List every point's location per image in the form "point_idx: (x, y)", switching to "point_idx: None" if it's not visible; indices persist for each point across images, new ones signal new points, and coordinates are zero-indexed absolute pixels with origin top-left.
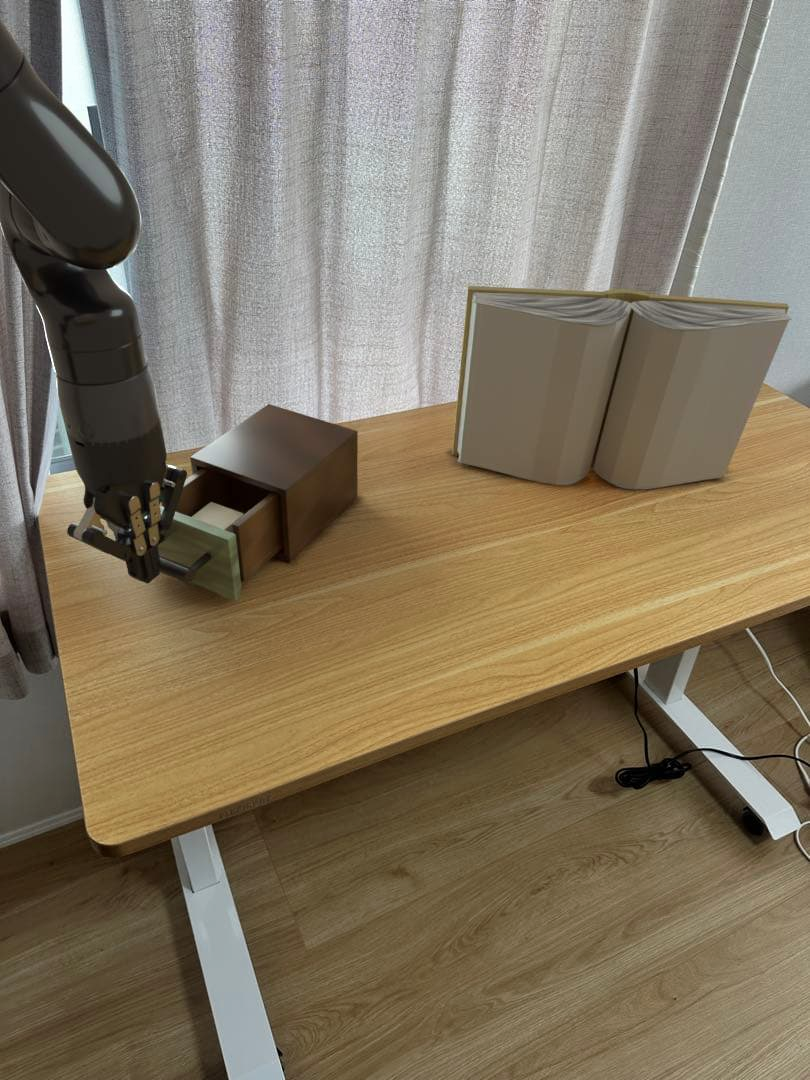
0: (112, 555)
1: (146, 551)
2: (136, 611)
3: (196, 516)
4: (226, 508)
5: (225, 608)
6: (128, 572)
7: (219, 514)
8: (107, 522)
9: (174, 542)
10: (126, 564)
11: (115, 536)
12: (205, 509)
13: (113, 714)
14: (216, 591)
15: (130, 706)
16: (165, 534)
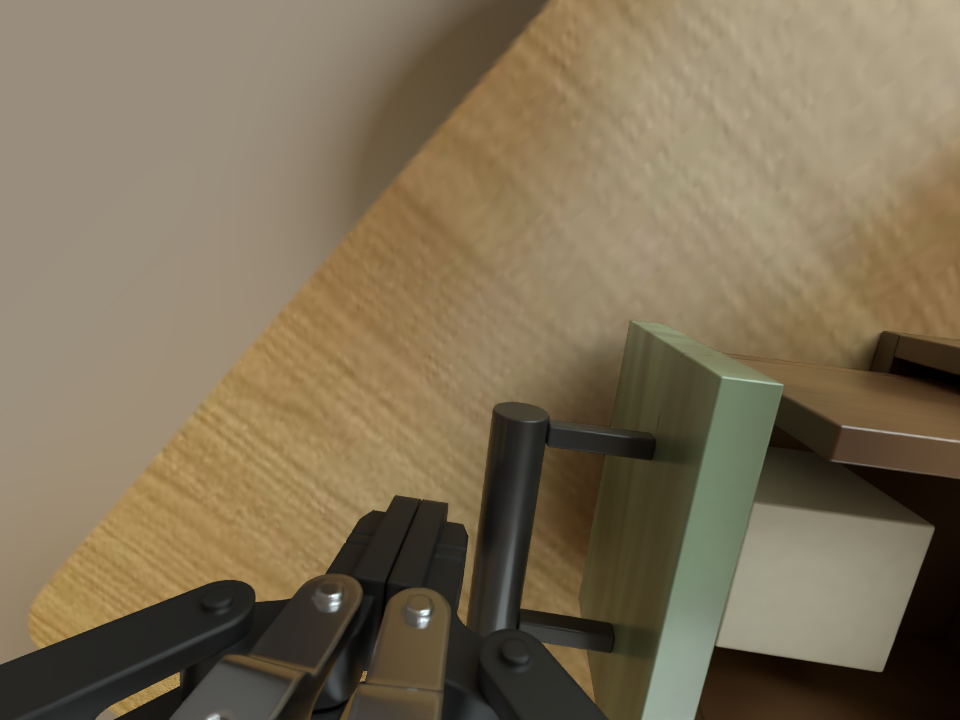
0: (133, 711)
1: (366, 667)
2: (467, 377)
3: (806, 526)
4: (901, 602)
5: (564, 562)
6: (356, 526)
7: (849, 595)
8: (199, 689)
9: (640, 497)
10: (344, 545)
11: (265, 635)
12: (869, 533)
13: (198, 511)
14: (588, 551)
15: (229, 528)
16: (653, 471)
